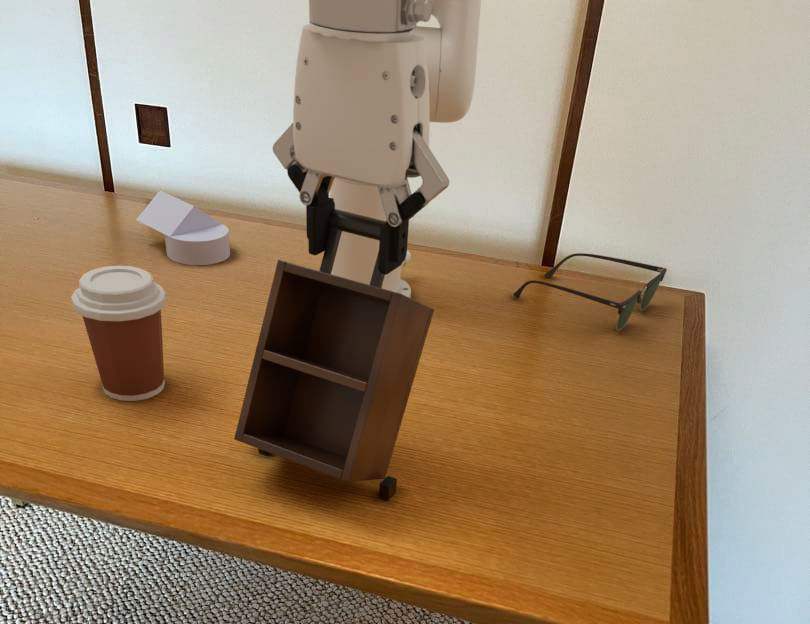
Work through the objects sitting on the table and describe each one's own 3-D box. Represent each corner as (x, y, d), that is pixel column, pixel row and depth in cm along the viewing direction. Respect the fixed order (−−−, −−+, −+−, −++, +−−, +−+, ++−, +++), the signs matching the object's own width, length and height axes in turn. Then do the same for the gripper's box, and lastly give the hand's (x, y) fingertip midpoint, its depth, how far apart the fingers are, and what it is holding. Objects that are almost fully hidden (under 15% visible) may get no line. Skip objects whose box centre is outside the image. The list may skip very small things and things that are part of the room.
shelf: (336, 218, 75) (293, 194, 68) (452, 248, 71) (420, 225, 64) (279, 440, 80) (233, 439, 73) (385, 479, 76) (348, 482, 69)
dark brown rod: (267, 445, 81) (267, 431, 80) (396, 492, 76) (397, 478, 75) (258, 452, 80) (257, 438, 79) (388, 501, 75) (388, 487, 74)
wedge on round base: (139, 243, 120) (190, 270, 114) (132, 195, 116) (185, 221, 109) (190, 230, 125) (242, 255, 119) (185, 185, 121) (239, 208, 115)
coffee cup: (77, 378, 89) (53, 271, 81) (156, 359, 93) (141, 255, 86) (109, 416, 83) (87, 304, 76) (191, 393, 88) (179, 285, 80)
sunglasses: (553, 270, 122) (560, 237, 119) (661, 302, 116) (670, 267, 112) (501, 304, 111) (507, 268, 108) (616, 341, 105) (625, 304, 102)
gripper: (494, 20, 57) (465, 269, 69) (289, -10, 63) (294, 225, 74) (449, 32, 52) (426, 299, 64) (230, -3, 58) (245, 249, 69)
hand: (355, 257), depth 69 cm, fingers closed on shelf, 6 cm apart
